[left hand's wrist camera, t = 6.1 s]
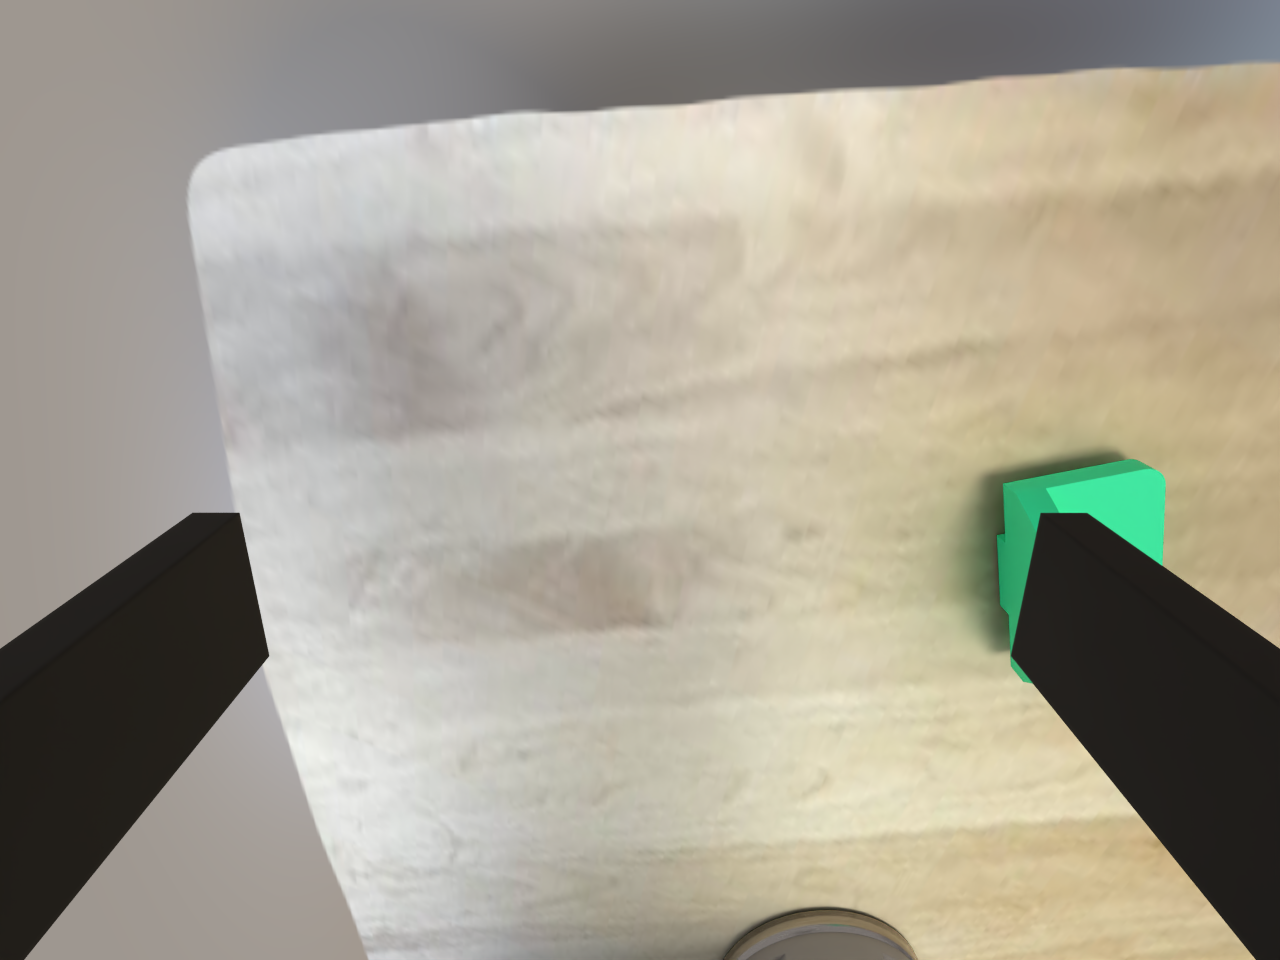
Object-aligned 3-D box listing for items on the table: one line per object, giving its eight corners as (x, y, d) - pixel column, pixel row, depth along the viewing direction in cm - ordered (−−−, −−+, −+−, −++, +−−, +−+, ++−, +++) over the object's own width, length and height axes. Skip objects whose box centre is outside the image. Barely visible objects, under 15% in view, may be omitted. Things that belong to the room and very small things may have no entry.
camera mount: (1130, 633, 45) (1263, 751, 35) (1002, 655, 46) (1099, 778, 36) (1134, 449, 41) (1287, 526, 31) (994, 476, 41) (1100, 561, 32)
